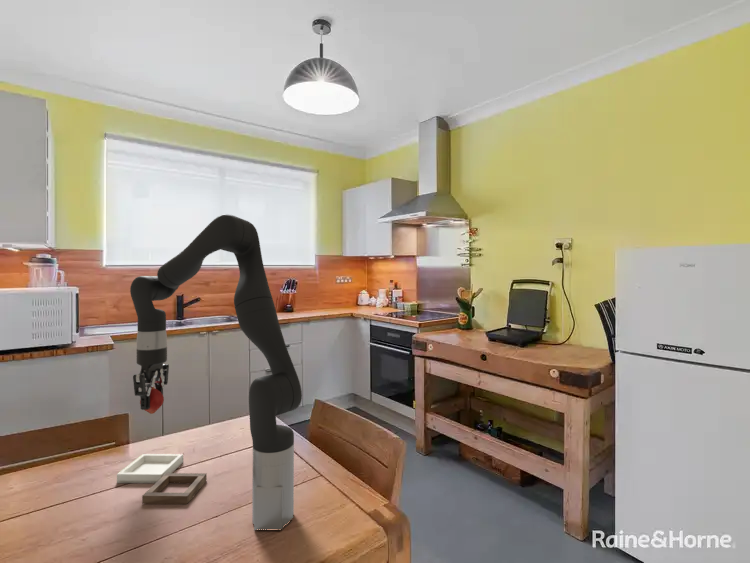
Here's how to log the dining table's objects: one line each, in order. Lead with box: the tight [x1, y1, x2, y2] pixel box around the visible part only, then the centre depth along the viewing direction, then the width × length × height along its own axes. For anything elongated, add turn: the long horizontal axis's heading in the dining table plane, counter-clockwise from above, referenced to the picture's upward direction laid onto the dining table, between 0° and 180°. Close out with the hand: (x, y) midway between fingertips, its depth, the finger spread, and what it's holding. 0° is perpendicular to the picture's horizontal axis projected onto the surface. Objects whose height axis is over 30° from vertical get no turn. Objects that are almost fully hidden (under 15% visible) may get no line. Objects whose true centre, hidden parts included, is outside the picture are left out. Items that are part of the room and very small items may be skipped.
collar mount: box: [141, 472, 208, 505], centre depth 101 cm, size 11×11×2 cm
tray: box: [116, 453, 184, 484], centre depth 111 cm, size 12×12×2 cm
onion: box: [139, 386, 165, 415], centre depth 111 cm, size 6×6×8 cm
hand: (152, 405), depth 111 cm, fingers closed on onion, 6 cm apart
